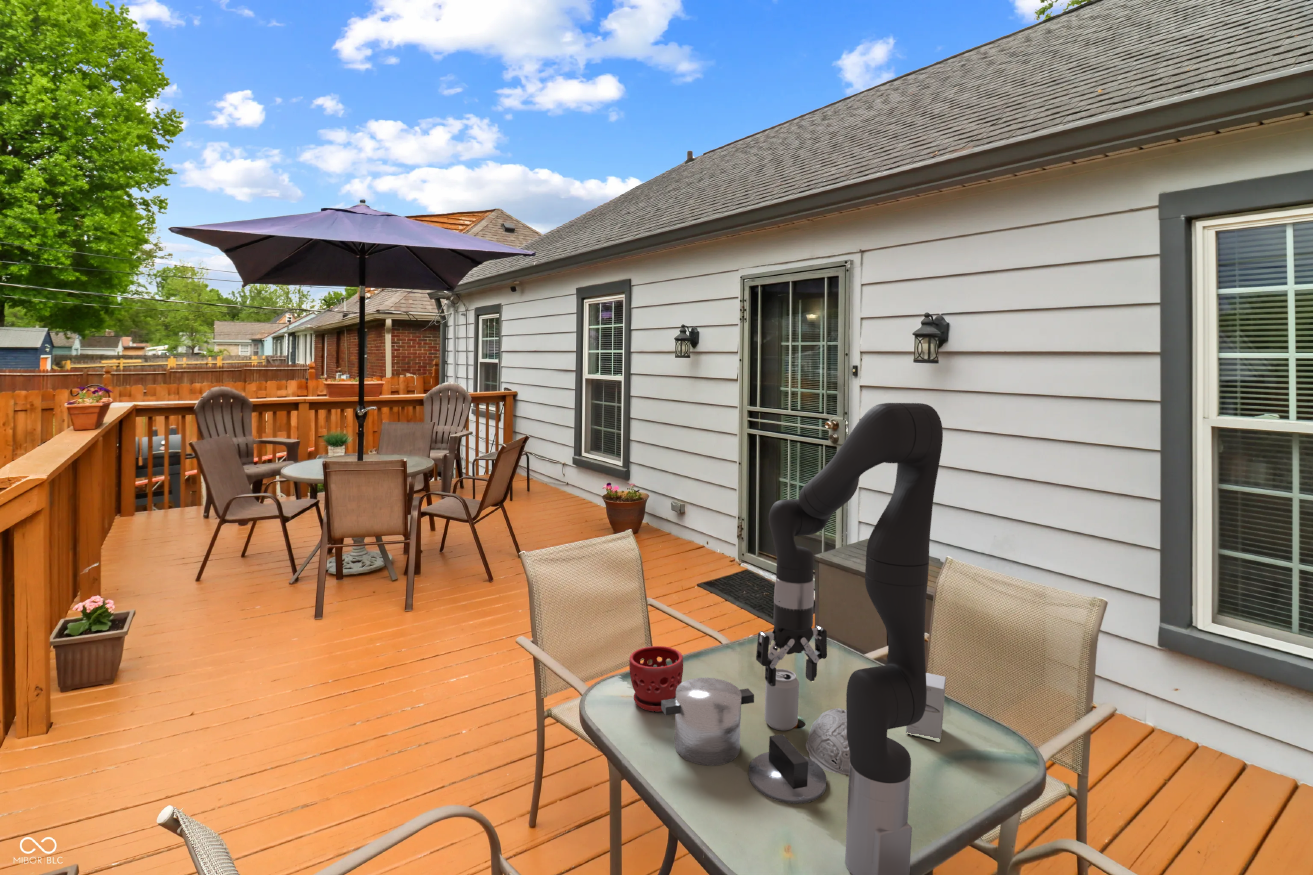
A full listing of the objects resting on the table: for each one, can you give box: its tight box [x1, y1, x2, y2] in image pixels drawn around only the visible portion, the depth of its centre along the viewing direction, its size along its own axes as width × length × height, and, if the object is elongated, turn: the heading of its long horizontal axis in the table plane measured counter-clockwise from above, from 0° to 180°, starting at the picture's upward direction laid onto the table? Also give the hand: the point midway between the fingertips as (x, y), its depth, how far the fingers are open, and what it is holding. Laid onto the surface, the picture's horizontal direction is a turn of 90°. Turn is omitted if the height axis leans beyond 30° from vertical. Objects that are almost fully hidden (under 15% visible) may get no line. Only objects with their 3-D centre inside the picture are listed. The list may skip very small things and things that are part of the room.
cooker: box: [661, 677, 755, 766], centre depth 137 cm, size 14×20×12 cm
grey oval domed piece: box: [805, 707, 850, 776], centre depth 140 cm, size 16×25×7 cm, turn 166°
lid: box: [748, 733, 827, 805], centre depth 127 cm, size 15×15×7 cm
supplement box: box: [905, 672, 947, 740], centre depth 145 cm, size 7×7×13 cm
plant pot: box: [628, 645, 684, 713], centre depth 156 cm, size 13×13×12 cm
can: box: [764, 668, 800, 731], centre depth 147 cm, size 8×8×12 cm
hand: (790, 681), depth 125 cm, fingers open, 8 cm apart
